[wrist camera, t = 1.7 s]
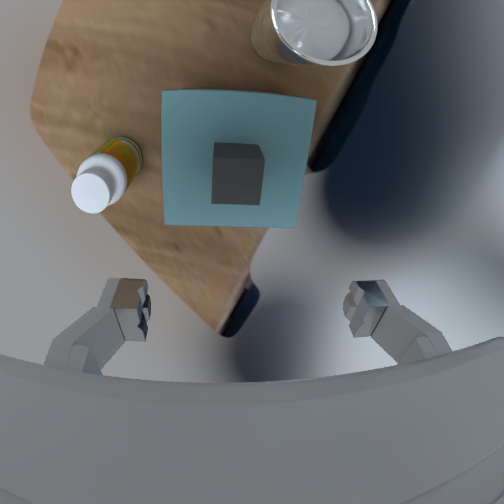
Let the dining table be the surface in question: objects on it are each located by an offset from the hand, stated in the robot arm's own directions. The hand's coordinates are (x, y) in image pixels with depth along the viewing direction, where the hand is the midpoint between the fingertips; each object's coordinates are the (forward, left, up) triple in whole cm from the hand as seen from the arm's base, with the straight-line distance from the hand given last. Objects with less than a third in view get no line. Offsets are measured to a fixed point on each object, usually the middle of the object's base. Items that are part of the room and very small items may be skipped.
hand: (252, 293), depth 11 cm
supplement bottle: (+2, -13, -24) cm, 27 cm away
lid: (0, 0, -16) cm, 16 cm away
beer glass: (-12, +4, -24) cm, 27 cm away
